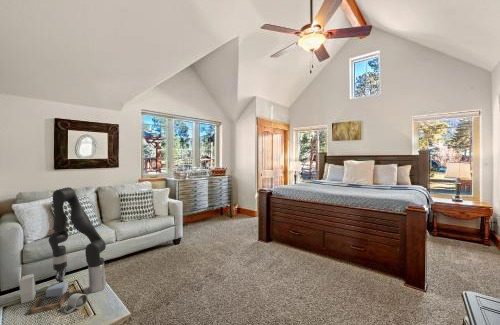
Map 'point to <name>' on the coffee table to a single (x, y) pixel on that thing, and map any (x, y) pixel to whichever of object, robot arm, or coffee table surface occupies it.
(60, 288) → the slate carton
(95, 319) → the coffee table surface
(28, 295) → the skincare box
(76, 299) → the ceramic mug
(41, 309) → the display bay
